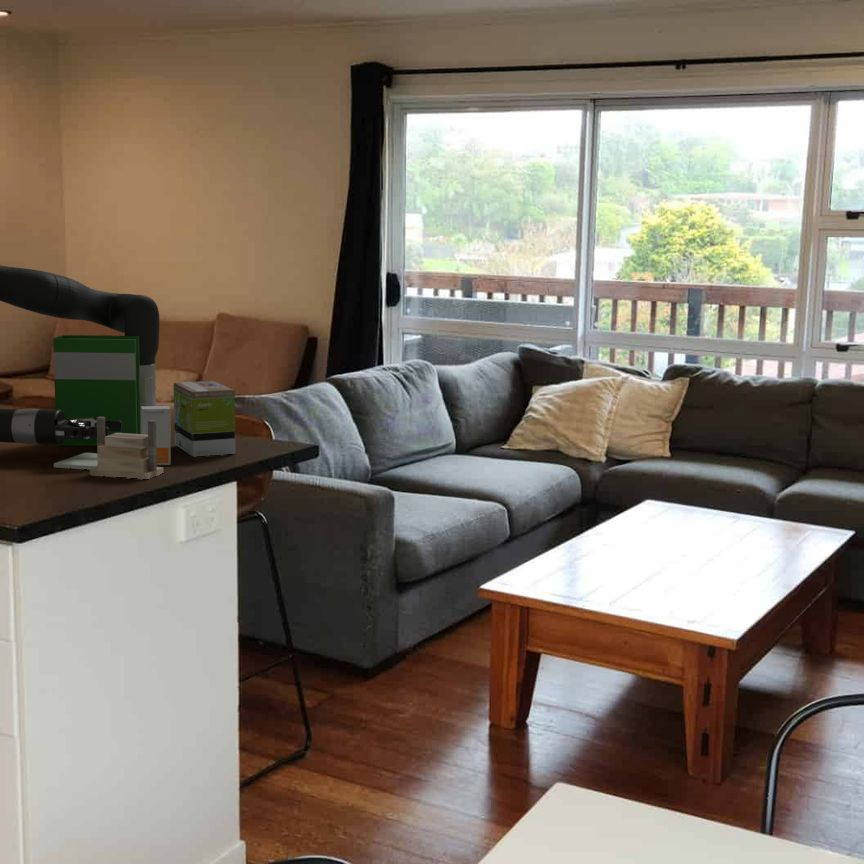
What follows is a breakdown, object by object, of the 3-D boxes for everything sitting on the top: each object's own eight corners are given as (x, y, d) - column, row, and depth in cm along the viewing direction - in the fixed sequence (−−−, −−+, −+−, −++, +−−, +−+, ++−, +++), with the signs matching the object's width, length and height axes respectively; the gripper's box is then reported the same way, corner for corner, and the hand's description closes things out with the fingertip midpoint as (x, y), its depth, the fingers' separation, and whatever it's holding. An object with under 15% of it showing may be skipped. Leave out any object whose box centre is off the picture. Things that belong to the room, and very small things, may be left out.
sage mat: (85, 456, 259) (85, 452, 259) (124, 459, 257) (124, 455, 257) (53, 467, 247) (53, 463, 247) (94, 470, 245) (94, 466, 245)
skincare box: (141, 466, 250) (140, 408, 248) (140, 462, 254) (139, 405, 252) (171, 465, 252) (170, 408, 250) (170, 461, 256) (169, 405, 254)
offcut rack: (107, 469, 246) (106, 414, 244) (163, 473, 244) (163, 418, 242) (90, 475, 240) (88, 419, 238) (147, 479, 237) (147, 423, 235)
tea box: (172, 446, 274) (172, 381, 272) (215, 443, 279) (215, 380, 276) (191, 458, 261) (191, 389, 258) (236, 455, 265) (236, 388, 263)
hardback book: (140, 439, 280) (139, 336, 276) (136, 445, 273) (134, 339, 269) (62, 438, 278) (59, 334, 274) (56, 445, 271) (53, 338, 267)
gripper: (25, 414, 245) (104, 416, 245) (50, 404, 259) (125, 406, 259) (26, 450, 247) (104, 453, 246) (51, 438, 261) (126, 441, 260)
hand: (115, 429), depth 252 cm, fingers open, 8 cm apart
